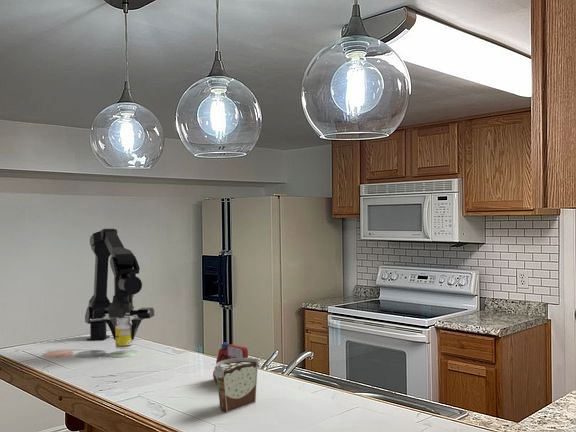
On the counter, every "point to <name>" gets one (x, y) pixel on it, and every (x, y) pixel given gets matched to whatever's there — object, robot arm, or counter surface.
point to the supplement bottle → (123, 333)
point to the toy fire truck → (230, 354)
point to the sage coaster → (124, 353)
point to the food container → (236, 383)
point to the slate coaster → (91, 353)
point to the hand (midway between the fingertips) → (124, 339)
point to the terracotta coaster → (58, 353)
